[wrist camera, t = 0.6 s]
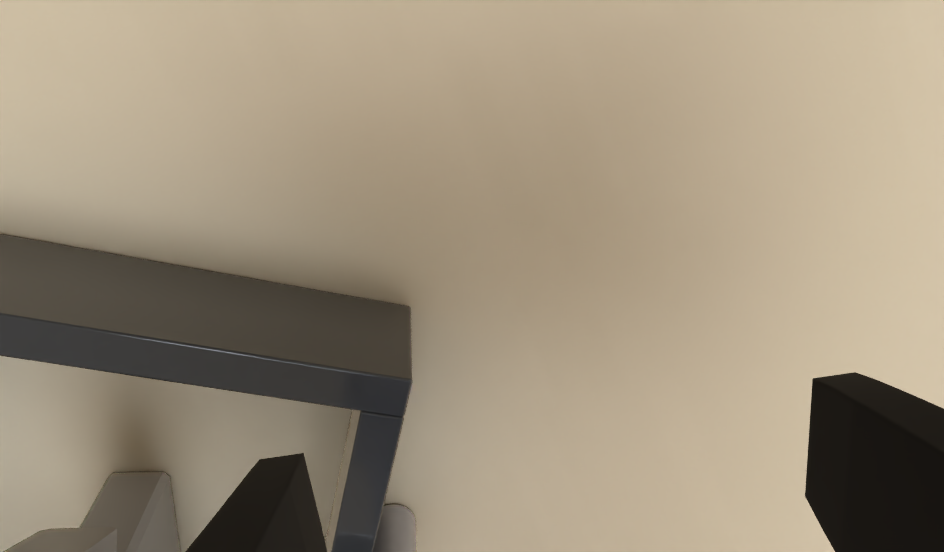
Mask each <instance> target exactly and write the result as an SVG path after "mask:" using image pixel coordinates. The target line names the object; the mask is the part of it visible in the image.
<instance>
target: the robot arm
mask: <svg viewBox="0 0 944 552" xmlns="http://www.w3.org/2000/svg"><path fill="white" fill-rule="evenodd" d="M805 497H806V499H807V500H808V502H809V504H810V506H811V508H812V510H813V512H814V514H815V516H816V518H817V519H818V521H819V523H820V525H821V527H822V529H823V531H824V533H825V534H826V536H827V538H828V540H829V541H830V543H831V545H832V547H833V548H834V550H835V552H944V409H943V408H941V407H938V406H936V405H934V404H932V403H929V402H927V401H925V400H923V399H920V398H918V397H916V396H913V395H911V394H909V393H906V392H904V391H902V390H899V389H897V388H895V387H892V386H890V385H887V384H885V383H883V382H880V381H878V380H875V379H872V378H870V377H867V376H864V375H861V374H858V373H848V374H841V375H834V376H827V377H820V378H814V379H813V383H812V399H811V414H810V430H809V445H808V460H807V476H806V491H805ZM186 552H327V548H326V544H325V540H324V536H323V532H322V528H321V523H320V519H319V515H318V511H317V507H316V503H315V499H314V495H313V490H312V486H311V482H310V478H309V474H308V470H307V466H306V461H305V457H304V453H301V454H294V455H287V456H280V457H274V458H267V459H260V460H259V461H258V462H257V463H256V465H255V466H254V467H253V468H252V469H251V471H250V472H249V473H248V474H247V476H246V477H245V478H244V479H243V481H242V482H241V483H240V484H239V486H238V487H237V488H236V489H235V491H234V492H233V493H232V494H231V496H230V497H229V498H228V499H227V501H226V502H225V503H224V505H223V506H222V507H221V508H220V510H219V511H218V512H217V513H216V515H215V516H214V517H213V518H212V520H211V521H210V522H209V524H208V525H207V526H206V527H205V529H204V530H203V531H202V532H201V533H200V535H199V536H198V537H197V538H196V539H195V541H194V542H193V543H192V544H191V546H190V547H189V548H188V549H187V550H186Z"/></svg>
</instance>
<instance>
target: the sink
mask: <svg viewBox="0 0 944 552" xmlns="http://www.w3.org/2000/svg"><path fill="white" fill-rule="evenodd" d="M0 356H7V357H14V358H20V359H27V360H33V361H40V362H46V363H53V364H59V365H66V366H72V367H79V368H85V369H92V370H98V371H105V372H112V373H118V374H125V375H131V376H138V377H144V378H151V379H157V380H164V381H170V382H177V383H183V384H190V385H197V386H203V387H210V388H216V389H223V390H229V391H236V392H242V393H249V394H255V395H262V396H268V397H275V398H282V399H288V400H295V401H301V402H308V403H314V404H321V405H327V406H334V407H340V408H347V409H352V413H351V418H350V422H349V427H348V432H347V437H346V442H345V447H344V452H343V457H342V462H341V467H340V471H339V476H338V481H337V486H336V491H335V496H334V501H333V506H332V511H331V516H330V521H329V525H328V530H327V535H326V540H325V544H326V548H327V552H417V538H416V518H415V516H414V514H413V513H412V512H411V511H410V510H409V509H408V508H406V507H405V506H402V505H398V504H390V505H385V506H384V501H385V497H386V493H387V489H388V484H389V480H390V476H391V471H392V467H393V463H394V459H395V454H396V450H397V446H398V441H399V437H400V433H401V428H402V424H403V420H404V415H405V411H406V407H407V403H408V398H409V394H410V390H411V386H412V341H411V307H409V306H405V305H399V304H394V303H388V302H382V301H377V300H371V299H365V298H360V297H354V296H348V295H343V294H337V293H332V292H326V291H320V290H315V289H309V288H303V287H298V286H292V285H286V284H281V283H275V282H269V281H264V280H258V279H252V278H247V277H241V276H235V275H230V274H224V273H218V272H213V271H207V270H201V269H196V268H190V267H185V266H179V265H173V264H168V263H162V262H156V261H151V260H145V259H139V258H134V257H128V256H122V255H117V254H111V253H105V252H100V251H94V250H88V249H83V248H77V247H71V246H66V245H60V244H55V243H49V242H43V241H38V240H32V239H26V238H21V237H15V236H9V235H4V234H0Z"/></svg>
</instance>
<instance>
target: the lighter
mask: <svg viewBox="0 0 944 552" xmlns="http://www.w3.org/2000/svg"><path fill="white" fill-rule="evenodd" d="M4 552H180V545H179V538H178V531H177V524H176V517H175V510H174V502H173V495H172V488H171V481H170V476H168V475H167V474H165V473H164V472H132V473H112V474H111V475H110V476H109V477H108V478H107V480H106V482H105V483H104V485H103V487H102V489H101V490H100V492H99V494H98V496H97V497H96V499H95V501H94V503H93V504H92V506H91V508H90V510H89V511H88V513H87V515H86V517H85V518H84V520H83V522H82V524H81V525H80V527H79V528H59V529H47V530H42V531H39V532H37V533H35V534H34V535H32V536H30V537H28V538H27V539H25V540H23V541H21V542H20V543H18V544H16V545H14V546H13V547H11V548H9V549H7V550H5V551H4Z"/></svg>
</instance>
